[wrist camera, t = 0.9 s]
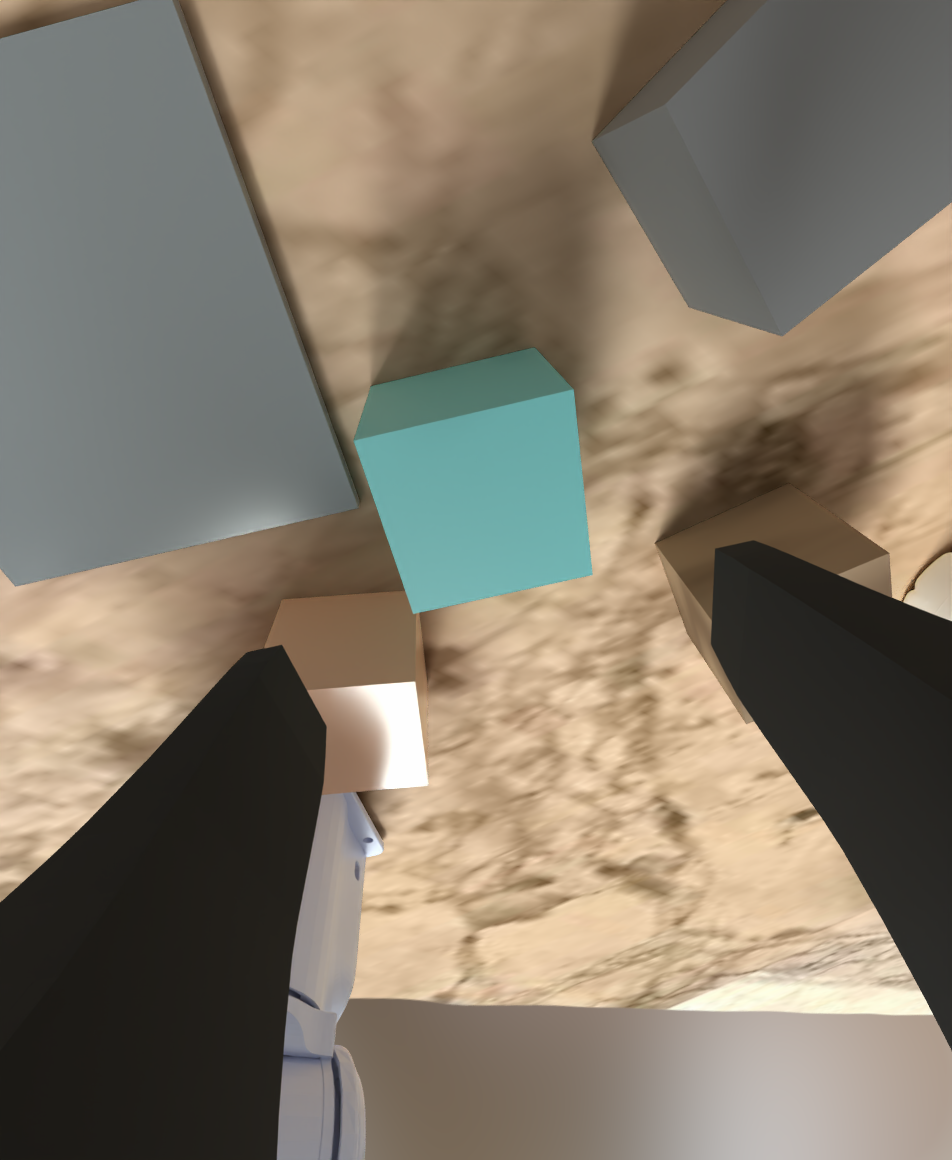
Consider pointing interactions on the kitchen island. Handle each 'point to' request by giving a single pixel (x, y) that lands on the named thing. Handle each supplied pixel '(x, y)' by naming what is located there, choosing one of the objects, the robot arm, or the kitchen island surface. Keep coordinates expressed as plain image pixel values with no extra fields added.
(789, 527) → the walnut block
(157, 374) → the slate coaster
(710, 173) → the charcoal block
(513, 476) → the teal block
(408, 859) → the kitchen island surface
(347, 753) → the terracotta block
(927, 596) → the water bottle
